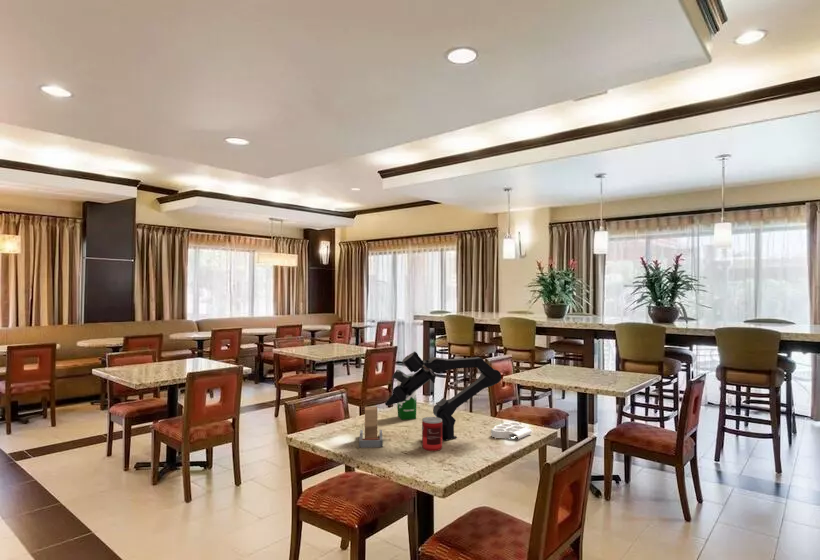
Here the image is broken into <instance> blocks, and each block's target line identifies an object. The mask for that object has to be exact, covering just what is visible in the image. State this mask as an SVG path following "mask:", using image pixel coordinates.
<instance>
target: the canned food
mask: <svg viewBox="0 0 820 560" xmlns="http://www.w3.org/2000/svg"><path fill="white" fill-rule="evenodd" d="M421 420H422V421H421V440H422V441H421V443H422V444H421V445H422V449H423V450H425V451H430V452H437V451H441V450H442V448H443V440H442V419H441V418H438V417H436V416H426V417H423V418H422V419H421Z"/></svg>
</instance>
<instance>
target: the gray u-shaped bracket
mask: <svg viewBox="0 0 820 560" xmlns="http://www.w3.org/2000/svg"><path fill="white" fill-rule="evenodd" d="M363 435H364V430H363V429H360V430H359V439H358V440H359V441H358V448H360V447H361V448H384V447H383V446H384V444H383V442H384V440H383V429H379V438H378V437H377V438H365V437H363Z"/></svg>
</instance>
